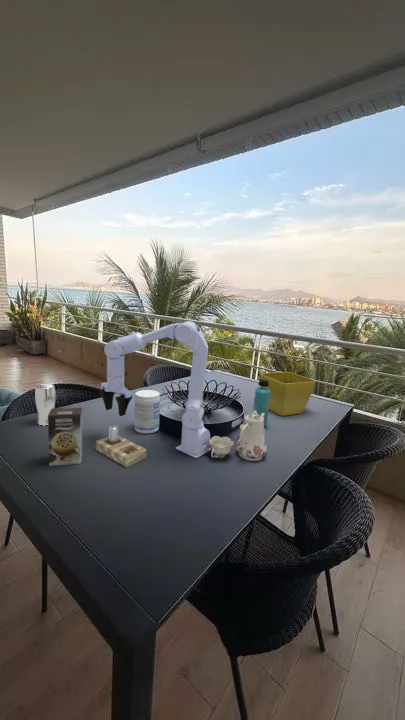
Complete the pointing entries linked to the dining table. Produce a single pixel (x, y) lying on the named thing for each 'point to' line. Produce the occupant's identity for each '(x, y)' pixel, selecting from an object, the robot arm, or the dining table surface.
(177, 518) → the dining table surface
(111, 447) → the hole block
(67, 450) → the coffee box
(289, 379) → the flower pot
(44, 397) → the beer glass
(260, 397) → the beverage bottle
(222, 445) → the chinaware
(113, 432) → the peg
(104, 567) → the dining table surface
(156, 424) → the supplement tub
